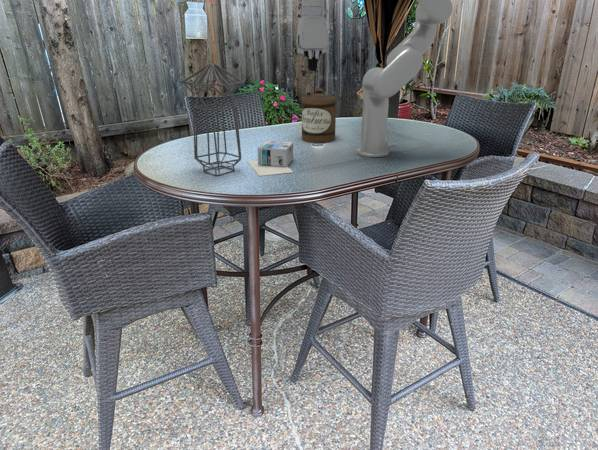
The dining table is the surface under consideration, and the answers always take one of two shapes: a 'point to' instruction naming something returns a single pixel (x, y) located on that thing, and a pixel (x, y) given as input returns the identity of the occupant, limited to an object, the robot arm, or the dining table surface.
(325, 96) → the wooden container
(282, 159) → the light bulb box
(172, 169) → the dining table surface
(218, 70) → the geometric lantern
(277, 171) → the mat
